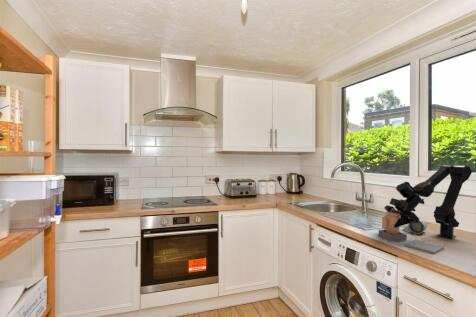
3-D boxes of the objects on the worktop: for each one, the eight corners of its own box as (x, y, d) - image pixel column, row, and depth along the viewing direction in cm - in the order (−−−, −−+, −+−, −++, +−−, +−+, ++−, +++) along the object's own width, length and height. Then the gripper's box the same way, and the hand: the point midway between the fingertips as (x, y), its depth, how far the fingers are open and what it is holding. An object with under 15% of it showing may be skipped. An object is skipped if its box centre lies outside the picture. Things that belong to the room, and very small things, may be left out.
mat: (414, 241, 131) (415, 239, 131) (444, 248, 122) (444, 246, 122) (404, 246, 125) (404, 243, 124) (434, 254, 115) (434, 251, 115)
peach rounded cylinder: (393, 235, 140) (394, 211, 140) (402, 239, 134) (403, 214, 133) (378, 236, 139) (379, 211, 139) (387, 240, 133) (388, 214, 132)
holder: (393, 235, 142) (394, 229, 141) (406, 240, 133) (406, 234, 133) (378, 235, 140) (378, 229, 140) (390, 241, 131) (390, 235, 131)
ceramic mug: (427, 232, 148) (427, 218, 148) (424, 235, 142) (424, 221, 142) (405, 228, 155) (405, 215, 155) (401, 231, 149) (401, 217, 149)
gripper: (387, 190, 146) (368, 210, 145) (414, 196, 127) (393, 219, 126) (400, 204, 147) (381, 224, 146) (428, 212, 128) (407, 235, 127)
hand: (390, 225), depth 136 cm, fingers closed on peach rounded cylinder, 6 cm apart
